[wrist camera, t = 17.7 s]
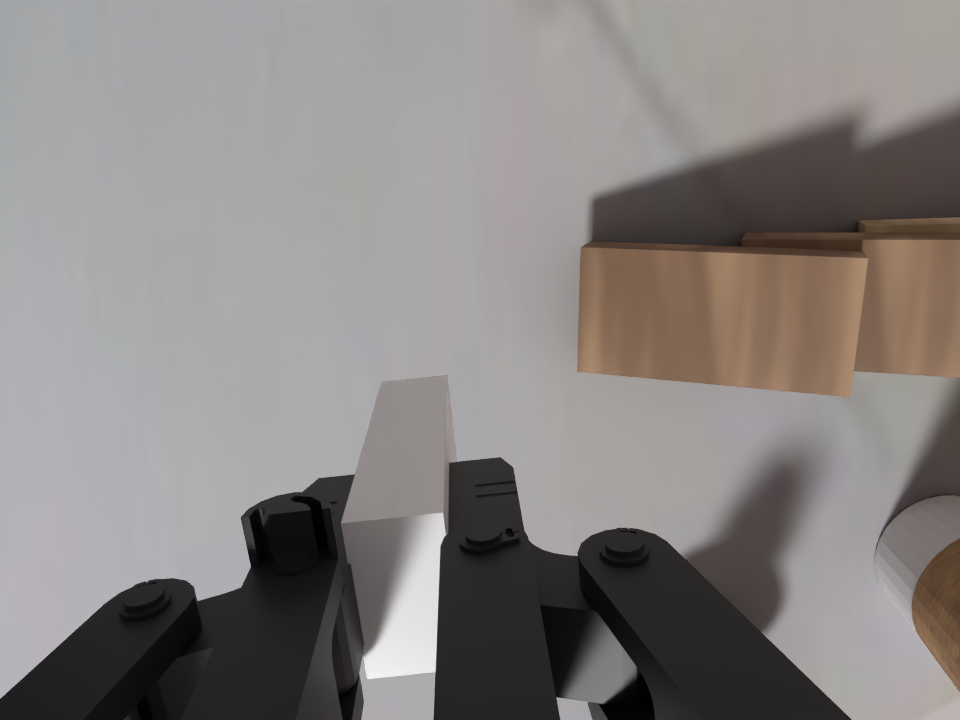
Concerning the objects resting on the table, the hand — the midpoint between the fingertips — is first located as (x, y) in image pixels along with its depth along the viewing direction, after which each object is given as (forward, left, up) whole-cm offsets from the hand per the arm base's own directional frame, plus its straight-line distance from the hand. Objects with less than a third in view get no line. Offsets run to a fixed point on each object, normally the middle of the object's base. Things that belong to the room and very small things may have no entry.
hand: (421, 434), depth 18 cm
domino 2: (+10, +6, -14) cm, 18 cm away
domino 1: (+5, +3, -14) cm, 15 cm away
